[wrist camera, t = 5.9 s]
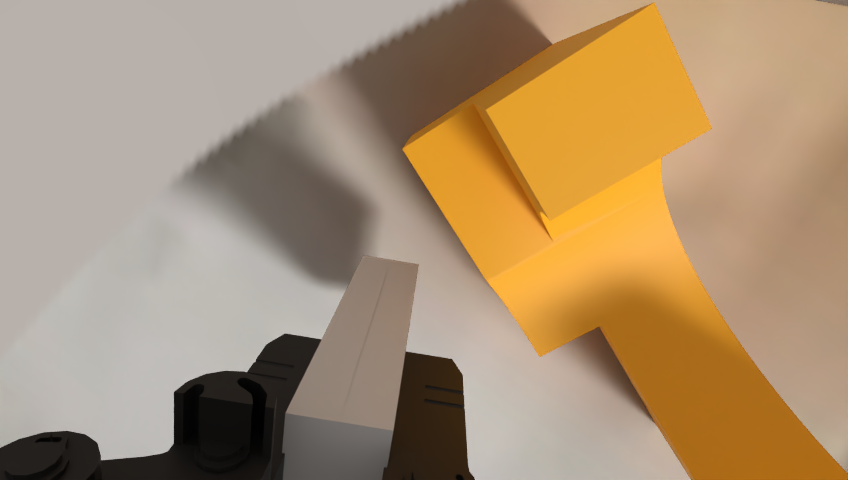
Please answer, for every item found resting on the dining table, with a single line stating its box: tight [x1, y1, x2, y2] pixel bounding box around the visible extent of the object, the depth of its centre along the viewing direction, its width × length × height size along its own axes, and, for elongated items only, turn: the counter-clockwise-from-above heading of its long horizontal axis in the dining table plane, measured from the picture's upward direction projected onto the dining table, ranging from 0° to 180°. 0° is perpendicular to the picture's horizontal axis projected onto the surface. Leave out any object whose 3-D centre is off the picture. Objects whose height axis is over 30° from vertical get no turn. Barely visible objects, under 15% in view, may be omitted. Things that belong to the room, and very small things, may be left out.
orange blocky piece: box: [402, 3, 848, 480], centre depth 11 cm, size 12×4×6 cm, turn 32°
